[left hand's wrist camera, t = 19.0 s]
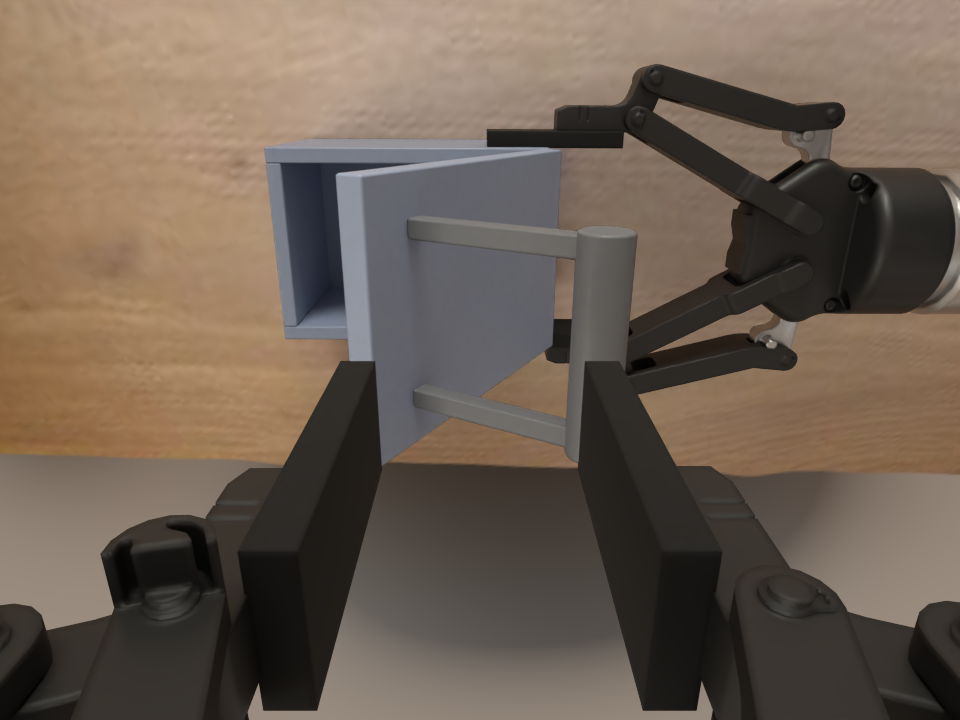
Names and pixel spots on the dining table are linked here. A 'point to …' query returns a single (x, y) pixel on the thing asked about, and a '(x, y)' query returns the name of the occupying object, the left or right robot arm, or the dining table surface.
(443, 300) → the door
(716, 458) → the dining table surface
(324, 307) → the chest
